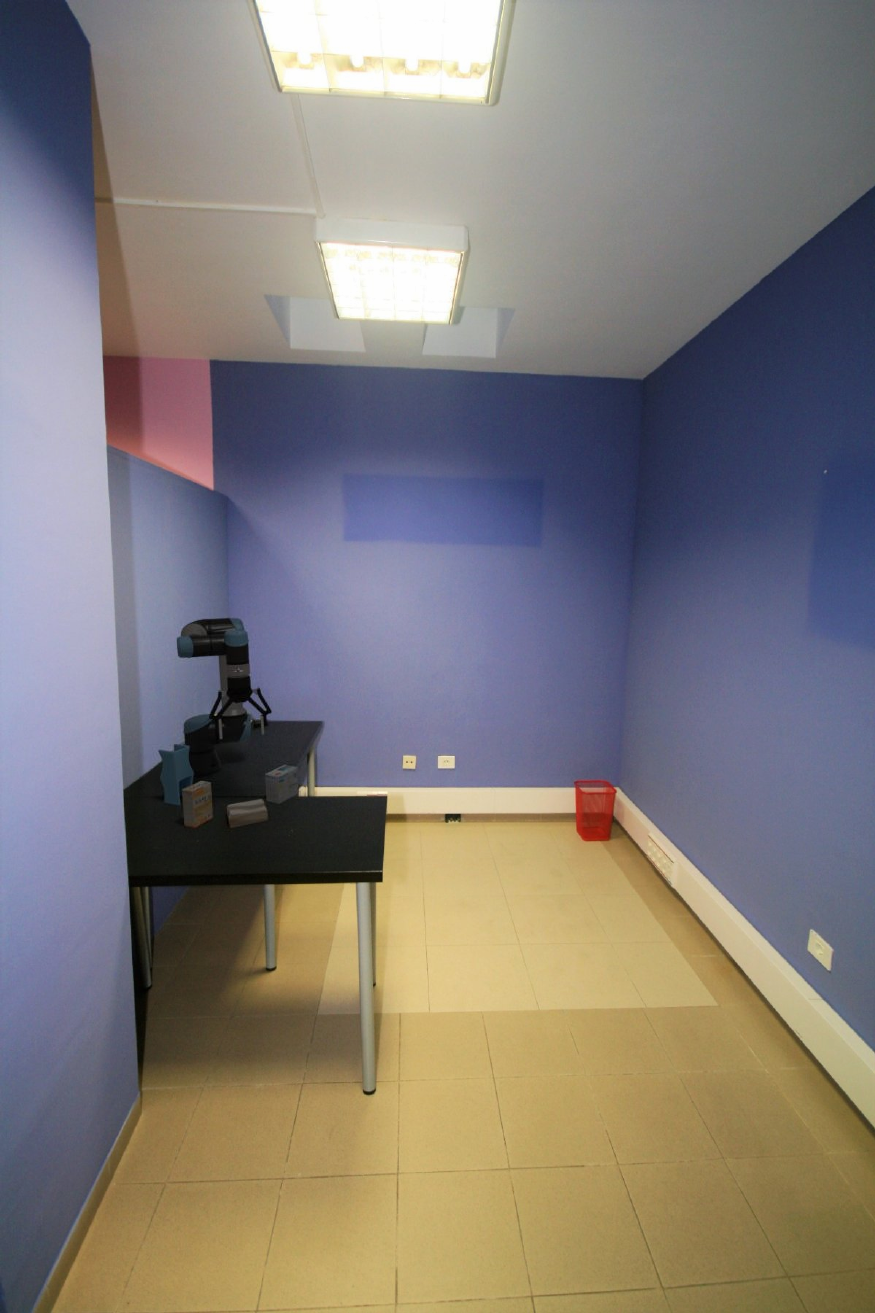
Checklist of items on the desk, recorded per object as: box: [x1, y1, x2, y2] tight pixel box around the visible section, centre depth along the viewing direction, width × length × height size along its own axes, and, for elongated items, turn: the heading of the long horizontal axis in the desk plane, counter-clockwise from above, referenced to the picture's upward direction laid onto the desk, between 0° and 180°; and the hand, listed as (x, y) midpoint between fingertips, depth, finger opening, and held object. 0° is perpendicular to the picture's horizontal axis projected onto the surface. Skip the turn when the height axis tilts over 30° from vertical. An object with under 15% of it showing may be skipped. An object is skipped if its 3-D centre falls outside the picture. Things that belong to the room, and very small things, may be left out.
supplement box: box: [181, 780, 214, 829], centre depth 175 cm, size 8×5×13 cm, turn 160°
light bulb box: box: [264, 764, 299, 805], centre depth 195 cm, size 11×7×11 cm, turn 154°
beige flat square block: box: [226, 798, 269, 828], centre depth 179 cm, size 10×12×4 cm
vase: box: [157, 743, 195, 806], centre depth 192 cm, size 8×8×20 cm
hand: (242, 735), depth 181 cm, fingers open, 13 cm apart
